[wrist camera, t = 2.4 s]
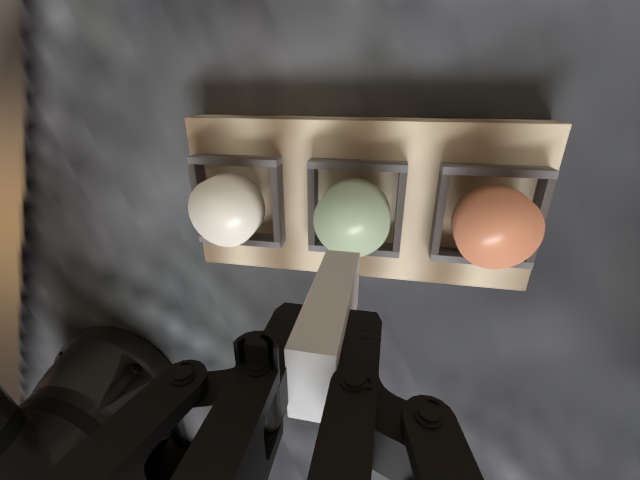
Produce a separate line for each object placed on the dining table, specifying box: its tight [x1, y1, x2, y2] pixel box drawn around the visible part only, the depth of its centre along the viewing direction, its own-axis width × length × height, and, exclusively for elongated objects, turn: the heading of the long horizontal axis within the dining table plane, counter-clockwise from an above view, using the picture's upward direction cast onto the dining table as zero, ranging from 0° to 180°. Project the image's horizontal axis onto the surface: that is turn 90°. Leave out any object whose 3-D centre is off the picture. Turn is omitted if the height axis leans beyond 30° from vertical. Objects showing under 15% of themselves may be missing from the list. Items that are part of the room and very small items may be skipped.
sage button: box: [313, 178, 390, 257], centre depth 24 cm, size 5×5×2 cm
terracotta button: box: [450, 184, 545, 269], centre depth 22 cm, size 5×5×2 cm
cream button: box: [188, 172, 265, 247], centre depth 25 cm, size 5×5×2 cm
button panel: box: [185, 114, 572, 291], centre depth 27 cm, size 26×12×4 cm, turn 90°
